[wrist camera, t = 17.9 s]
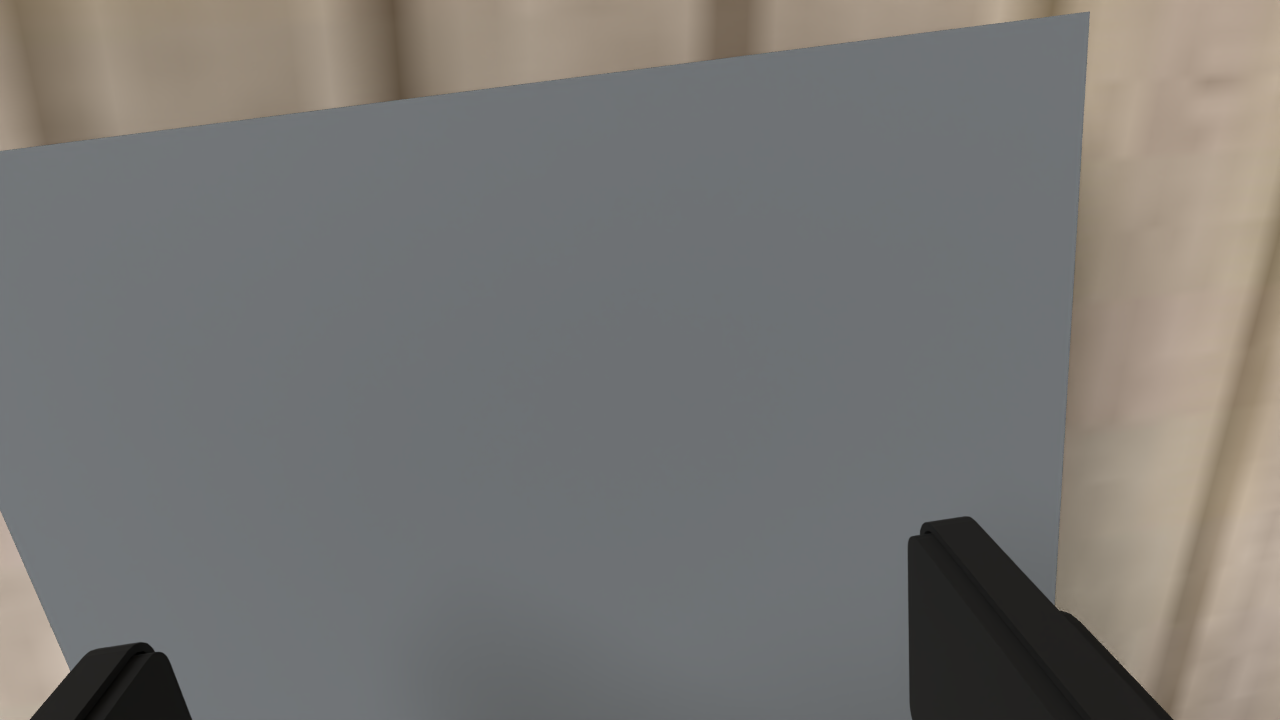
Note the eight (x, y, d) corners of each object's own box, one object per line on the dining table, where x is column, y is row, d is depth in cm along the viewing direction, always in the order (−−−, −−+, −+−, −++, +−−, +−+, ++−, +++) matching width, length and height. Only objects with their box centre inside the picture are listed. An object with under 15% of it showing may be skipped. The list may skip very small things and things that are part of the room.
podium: (965, 28, 16) (1089, 11, 12) (958, 620, 20) (1046, 742, 17) (30, 148, 15) (-148, 170, 11) (241, 734, 20) (165, 887, 16)
